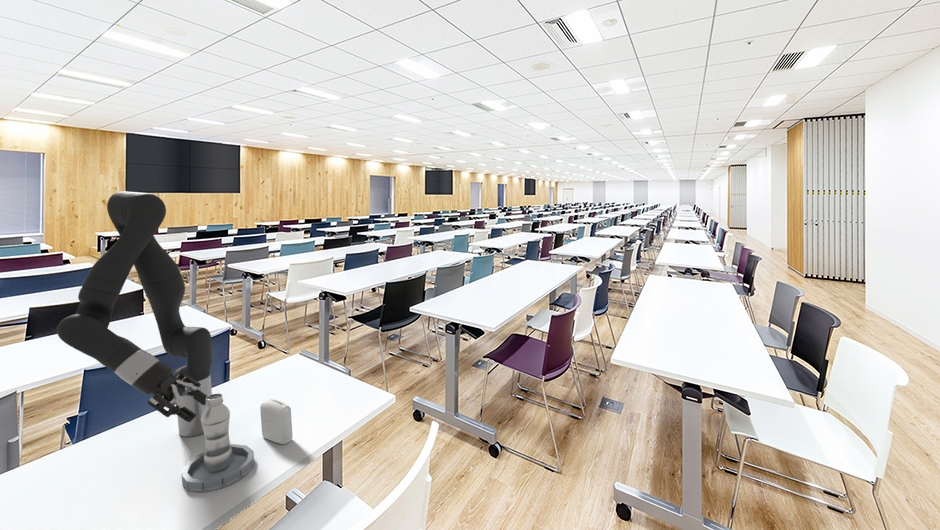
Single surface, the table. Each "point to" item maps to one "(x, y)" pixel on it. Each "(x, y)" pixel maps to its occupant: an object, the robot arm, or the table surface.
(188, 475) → the round tray
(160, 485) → the table surface
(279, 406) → the photo printer
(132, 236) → the robot arm
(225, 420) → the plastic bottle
